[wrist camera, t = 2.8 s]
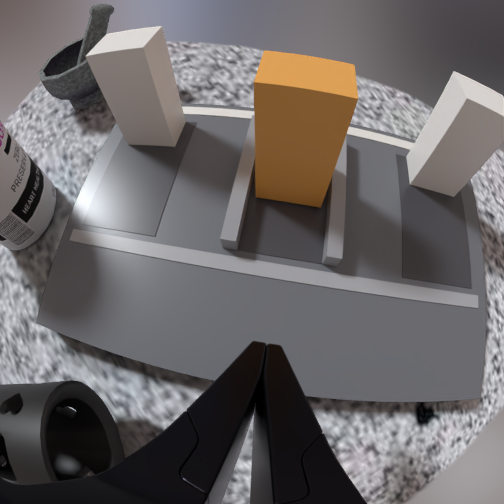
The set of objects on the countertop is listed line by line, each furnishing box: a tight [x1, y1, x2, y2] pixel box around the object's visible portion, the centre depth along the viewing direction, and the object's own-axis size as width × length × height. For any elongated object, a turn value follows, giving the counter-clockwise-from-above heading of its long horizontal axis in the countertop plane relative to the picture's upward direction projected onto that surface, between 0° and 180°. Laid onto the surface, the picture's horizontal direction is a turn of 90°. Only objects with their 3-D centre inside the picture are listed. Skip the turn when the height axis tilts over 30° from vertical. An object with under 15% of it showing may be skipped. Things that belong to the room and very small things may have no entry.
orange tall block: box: [254, 51, 358, 208], centre depth 17 cm, size 3×5×10 cm, turn 80°
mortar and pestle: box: [38, 4, 114, 109], centre depth 25 cm, size 11×9×12 cm
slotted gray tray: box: [36, 26, 504, 402], centre depth 17 cm, size 22×34×12 cm, turn 80°
